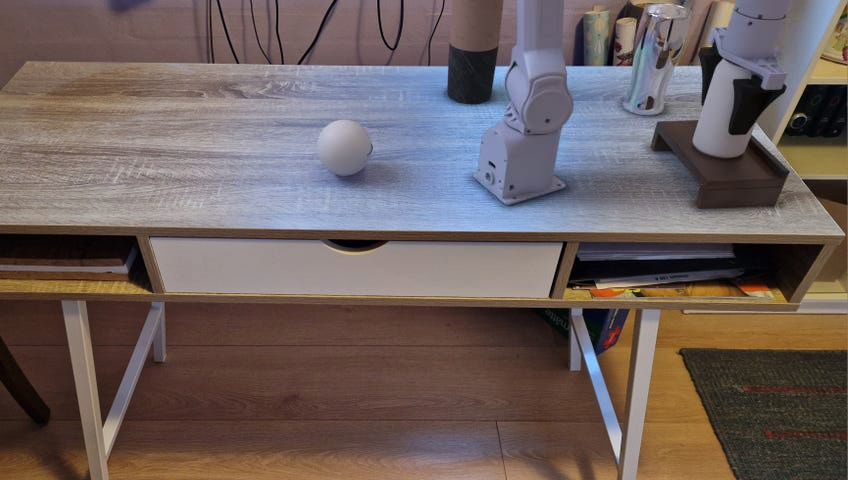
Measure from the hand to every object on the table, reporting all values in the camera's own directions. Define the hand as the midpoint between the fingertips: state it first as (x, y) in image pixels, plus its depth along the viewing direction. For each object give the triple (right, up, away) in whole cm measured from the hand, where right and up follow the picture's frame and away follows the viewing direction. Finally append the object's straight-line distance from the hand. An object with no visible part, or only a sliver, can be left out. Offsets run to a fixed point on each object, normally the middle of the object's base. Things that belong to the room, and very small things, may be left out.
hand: (723, 119), depth 90 cm
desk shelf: (+1, -6, +5) cm, 8 cm away
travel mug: (-29, +9, +25) cm, 39 cm away
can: (+1, -3, +3) cm, 4 cm away
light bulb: (-48, -3, +3) cm, 49 cm away
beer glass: (-2, +6, +21) cm, 22 cm away
